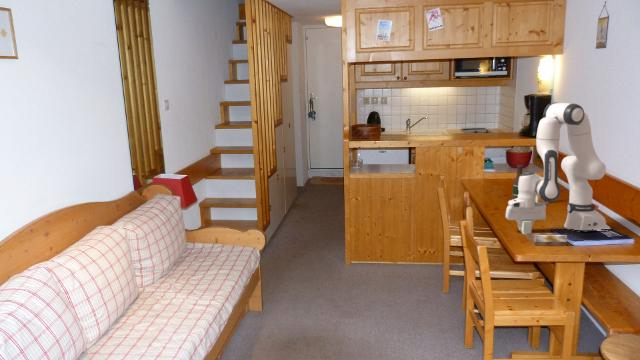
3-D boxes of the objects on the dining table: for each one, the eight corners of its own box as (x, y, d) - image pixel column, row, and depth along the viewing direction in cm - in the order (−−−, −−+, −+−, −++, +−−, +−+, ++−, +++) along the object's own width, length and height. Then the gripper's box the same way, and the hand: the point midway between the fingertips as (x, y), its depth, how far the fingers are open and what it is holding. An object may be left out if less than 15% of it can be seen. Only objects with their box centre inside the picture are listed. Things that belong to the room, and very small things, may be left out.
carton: (526, 229, 283) (527, 217, 282) (531, 234, 276) (531, 221, 274) (518, 229, 284) (519, 217, 282) (522, 234, 276) (523, 221, 274)
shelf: (556, 236, 271) (556, 227, 270) (566, 245, 257) (567, 236, 256) (526, 236, 272) (526, 227, 271) (535, 245, 258) (535, 236, 257)
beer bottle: (521, 199, 348) (523, 164, 343) (526, 202, 340) (528, 166, 335) (510, 199, 347) (511, 164, 342) (514, 202, 340) (516, 166, 335)
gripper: (544, 200, 278) (543, 225, 281) (505, 201, 280) (504, 225, 283) (548, 203, 272) (547, 229, 275) (508, 204, 274) (507, 229, 277)
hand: (525, 227), depth 279 cm, fingers closed on carton, 4 cm apart
